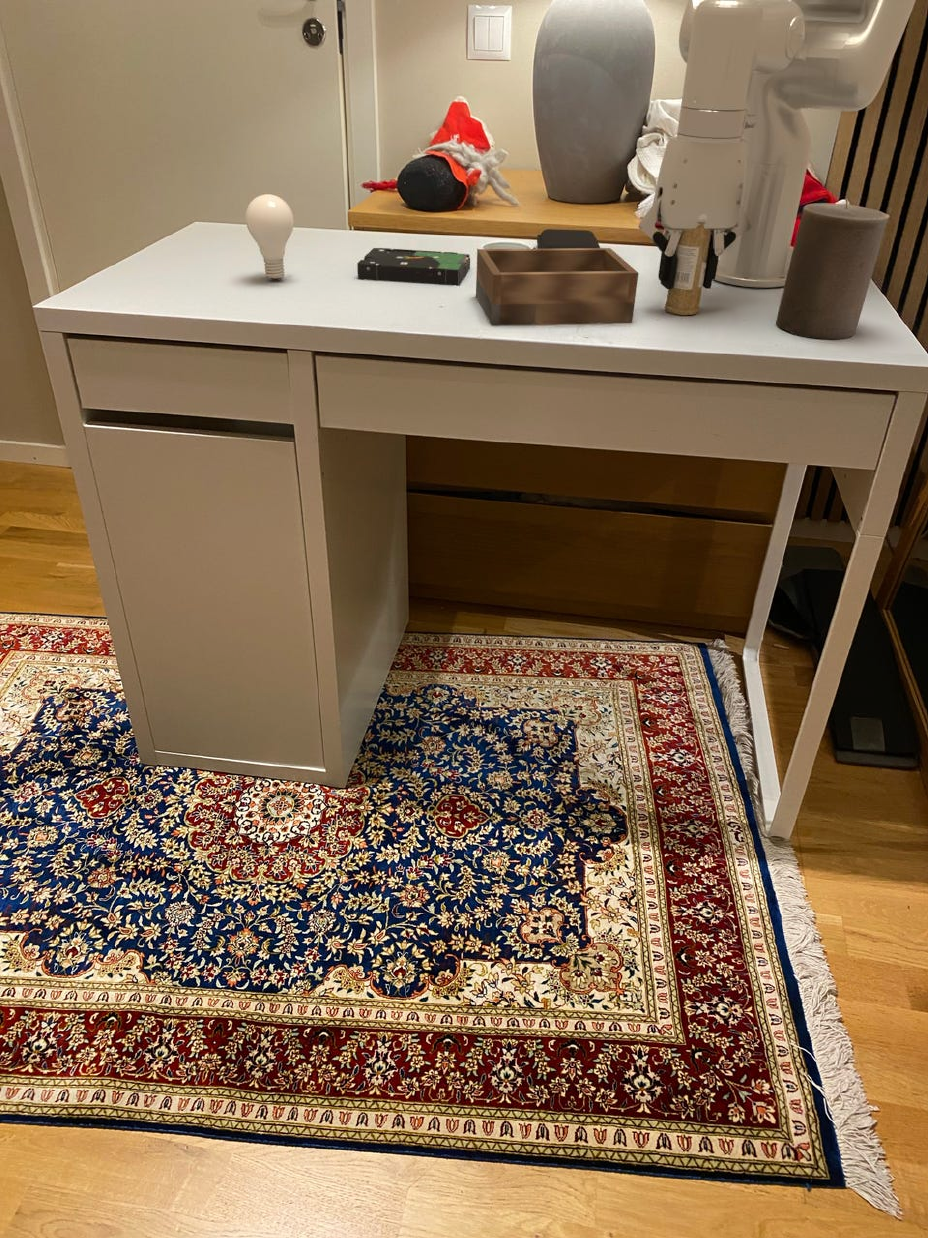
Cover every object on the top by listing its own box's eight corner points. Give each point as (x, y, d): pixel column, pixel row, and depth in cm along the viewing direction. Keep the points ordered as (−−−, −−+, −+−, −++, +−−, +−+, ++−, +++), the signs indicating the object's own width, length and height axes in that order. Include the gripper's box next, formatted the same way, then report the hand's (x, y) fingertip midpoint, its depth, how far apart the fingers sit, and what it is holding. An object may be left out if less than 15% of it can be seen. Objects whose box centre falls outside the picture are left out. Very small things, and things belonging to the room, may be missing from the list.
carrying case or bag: (529, 245, 148) (532, 267, 136) (530, 225, 146) (534, 246, 134) (594, 247, 148) (603, 270, 136) (596, 227, 146) (605, 248, 134)
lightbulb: (273, 271, 129) (265, 188, 123) (307, 278, 126) (301, 193, 120) (242, 281, 124) (232, 194, 118) (278, 288, 122) (269, 200, 116)
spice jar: (706, 312, 117) (725, 201, 109) (681, 318, 115) (699, 204, 107) (681, 304, 120) (698, 194, 112) (656, 309, 118) (672, 197, 110)
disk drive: (357, 284, 127) (460, 289, 126) (356, 263, 126) (460, 268, 124) (373, 266, 136) (470, 270, 134) (372, 246, 134) (470, 251, 132)
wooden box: (605, 293, 123) (610, 247, 120) (632, 322, 113) (638, 272, 109) (475, 295, 121) (477, 249, 118) (491, 325, 111) (493, 274, 107)
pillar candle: (781, 336, 109) (812, 203, 101) (771, 313, 117) (800, 188, 109) (863, 343, 108) (902, 209, 100) (847, 319, 116) (883, 193, 108)
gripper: (765, 122, 109) (736, 277, 120) (632, 121, 107) (614, 279, 118) (792, 130, 103) (758, 293, 114) (651, 128, 101) (630, 295, 112)
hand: (685, 284), depth 116 cm, fingers closed on spice jar, 4 cm apart
